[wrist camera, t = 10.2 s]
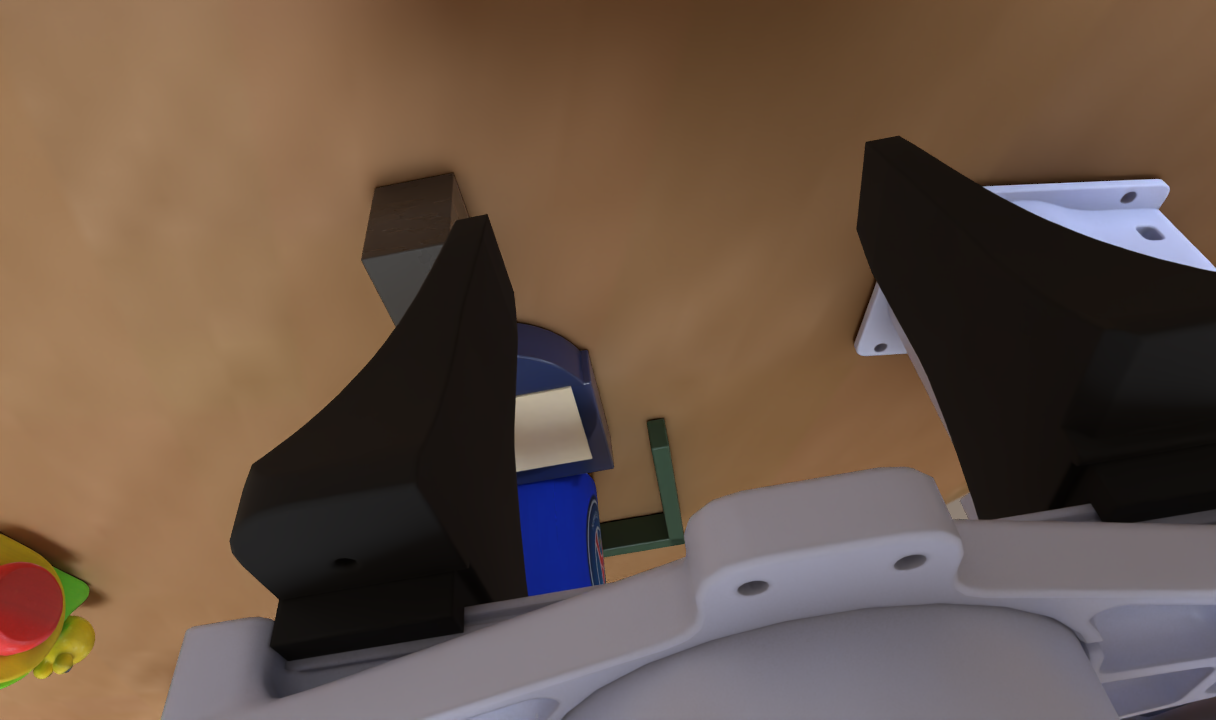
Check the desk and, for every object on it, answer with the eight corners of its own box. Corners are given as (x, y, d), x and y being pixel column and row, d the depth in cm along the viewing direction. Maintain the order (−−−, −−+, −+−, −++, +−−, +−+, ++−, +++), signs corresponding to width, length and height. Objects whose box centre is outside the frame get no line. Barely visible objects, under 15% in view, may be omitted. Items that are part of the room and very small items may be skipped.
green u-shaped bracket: (664, 417, 34) (669, 446, 33) (680, 517, 41) (685, 544, 40) (384, 466, 35) (380, 496, 34) (444, 557, 41) (442, 585, 40)
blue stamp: (292, 203, 24) (269, 277, 22) (537, 156, 24) (541, 225, 22) (440, 466, 35) (436, 535, 33) (610, 436, 35) (619, 503, 33)
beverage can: (581, 513, 40) (611, 851, 29) (481, 508, 38) (476, 859, 28) (606, 454, 36) (649, 815, 26) (496, 447, 35) (496, 823, 25)
